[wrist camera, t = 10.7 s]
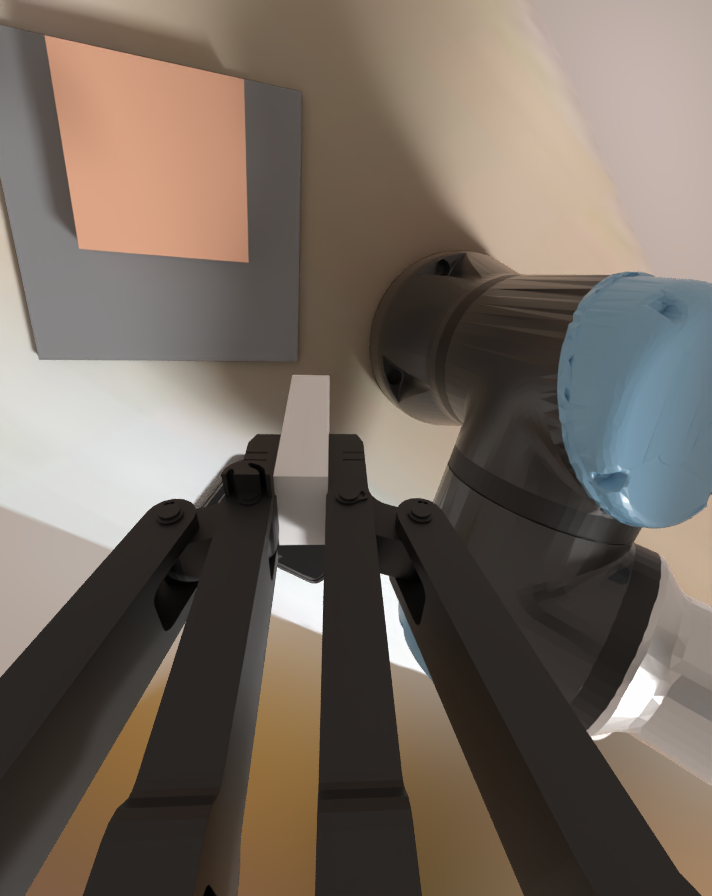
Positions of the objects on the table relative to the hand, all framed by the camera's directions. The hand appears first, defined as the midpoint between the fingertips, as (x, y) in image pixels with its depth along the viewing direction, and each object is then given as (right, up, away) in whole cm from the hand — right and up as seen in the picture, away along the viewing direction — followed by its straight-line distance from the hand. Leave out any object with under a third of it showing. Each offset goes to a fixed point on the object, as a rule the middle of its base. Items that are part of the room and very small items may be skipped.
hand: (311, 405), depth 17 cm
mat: (-11, +13, +11) cm, 21 cm away
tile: (-11, +11, +11) cm, 18 cm away
